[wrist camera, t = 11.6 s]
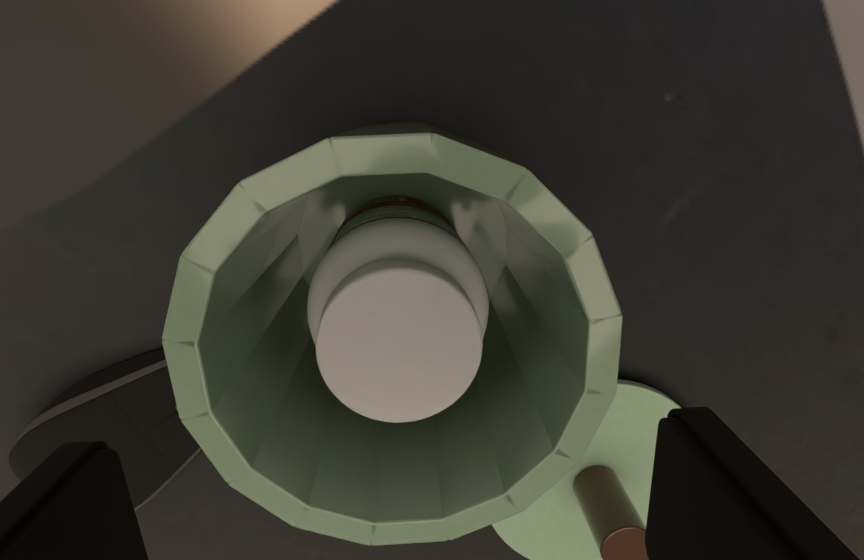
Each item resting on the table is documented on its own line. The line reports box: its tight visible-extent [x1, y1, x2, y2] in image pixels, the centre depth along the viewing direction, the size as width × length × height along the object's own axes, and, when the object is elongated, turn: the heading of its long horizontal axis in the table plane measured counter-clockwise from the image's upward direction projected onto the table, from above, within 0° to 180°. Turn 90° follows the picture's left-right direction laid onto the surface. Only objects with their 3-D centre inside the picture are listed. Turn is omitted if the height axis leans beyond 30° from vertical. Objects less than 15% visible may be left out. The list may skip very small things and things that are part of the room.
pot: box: [162, 122, 623, 546], centre depth 19 cm, size 12×12×12 cm
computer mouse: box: [9, 349, 202, 511], centre depth 26 cm, size 7×12×4 cm, turn 121°
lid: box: [491, 379, 682, 560], centre depth 27 cm, size 13×13×6 cm
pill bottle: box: [307, 195, 489, 423], centre depth 19 cm, size 6×6×11 cm
